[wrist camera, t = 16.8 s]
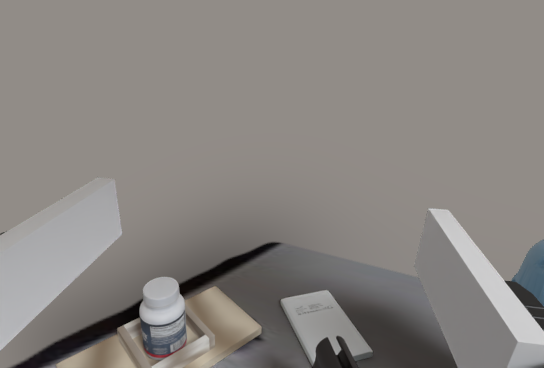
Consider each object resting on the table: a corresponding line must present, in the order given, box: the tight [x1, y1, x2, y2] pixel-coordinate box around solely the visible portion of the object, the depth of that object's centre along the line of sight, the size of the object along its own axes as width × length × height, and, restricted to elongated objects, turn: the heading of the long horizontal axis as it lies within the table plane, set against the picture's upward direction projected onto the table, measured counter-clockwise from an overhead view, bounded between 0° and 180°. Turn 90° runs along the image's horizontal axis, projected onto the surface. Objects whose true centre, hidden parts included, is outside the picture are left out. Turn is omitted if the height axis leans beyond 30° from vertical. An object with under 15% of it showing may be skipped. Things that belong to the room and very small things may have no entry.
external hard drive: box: [281, 290, 373, 366], centre depth 48 cm, size 2×8×12 cm
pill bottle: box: [139, 277, 187, 361], centre depth 41 cm, size 5×5×9 cm
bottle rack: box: [56, 286, 261, 368], centre depth 43 cm, size 22×11×3 cm, turn 133°
